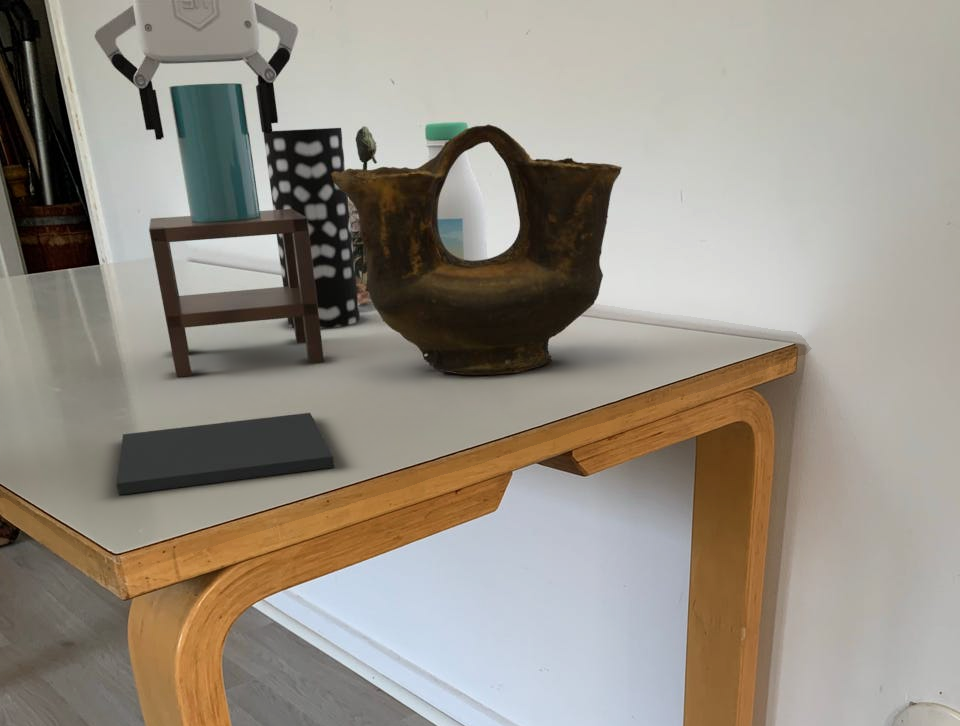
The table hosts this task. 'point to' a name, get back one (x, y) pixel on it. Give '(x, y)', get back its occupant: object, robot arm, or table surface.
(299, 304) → the shelf
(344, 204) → the spotted tube
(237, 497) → the table surface
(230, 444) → the mat
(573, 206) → the pottery vessel
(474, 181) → the milk bottle
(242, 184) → the teal tin can
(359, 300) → the plant with pod
